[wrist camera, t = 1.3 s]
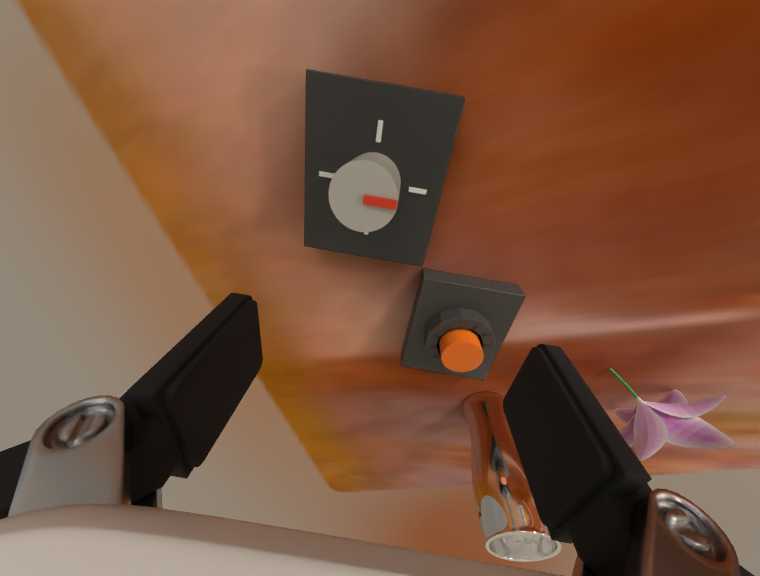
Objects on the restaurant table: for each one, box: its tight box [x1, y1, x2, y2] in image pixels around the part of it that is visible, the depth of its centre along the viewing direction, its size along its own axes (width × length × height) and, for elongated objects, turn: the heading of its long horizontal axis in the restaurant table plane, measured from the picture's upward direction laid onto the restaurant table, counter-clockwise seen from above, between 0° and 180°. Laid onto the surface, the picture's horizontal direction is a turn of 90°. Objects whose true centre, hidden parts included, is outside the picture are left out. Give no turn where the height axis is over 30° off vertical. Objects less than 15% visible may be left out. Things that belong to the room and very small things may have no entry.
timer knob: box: [328, 152, 401, 232], centre depth 20 cm, size 4×4×6 cm
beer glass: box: [462, 392, 562, 562], centre depth 32 cm, size 7×7×15 cm
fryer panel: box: [304, 69, 465, 267], centre depth 23 cm, size 13×11×3 cm
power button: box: [439, 328, 484, 372], centre depth 28 cm, size 4×4×2 cm
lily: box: [609, 368, 735, 461], centre depth 31 cm, size 12×12×10 cm
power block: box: [401, 269, 526, 380], centre depth 30 cm, size 12×10×4 cm
